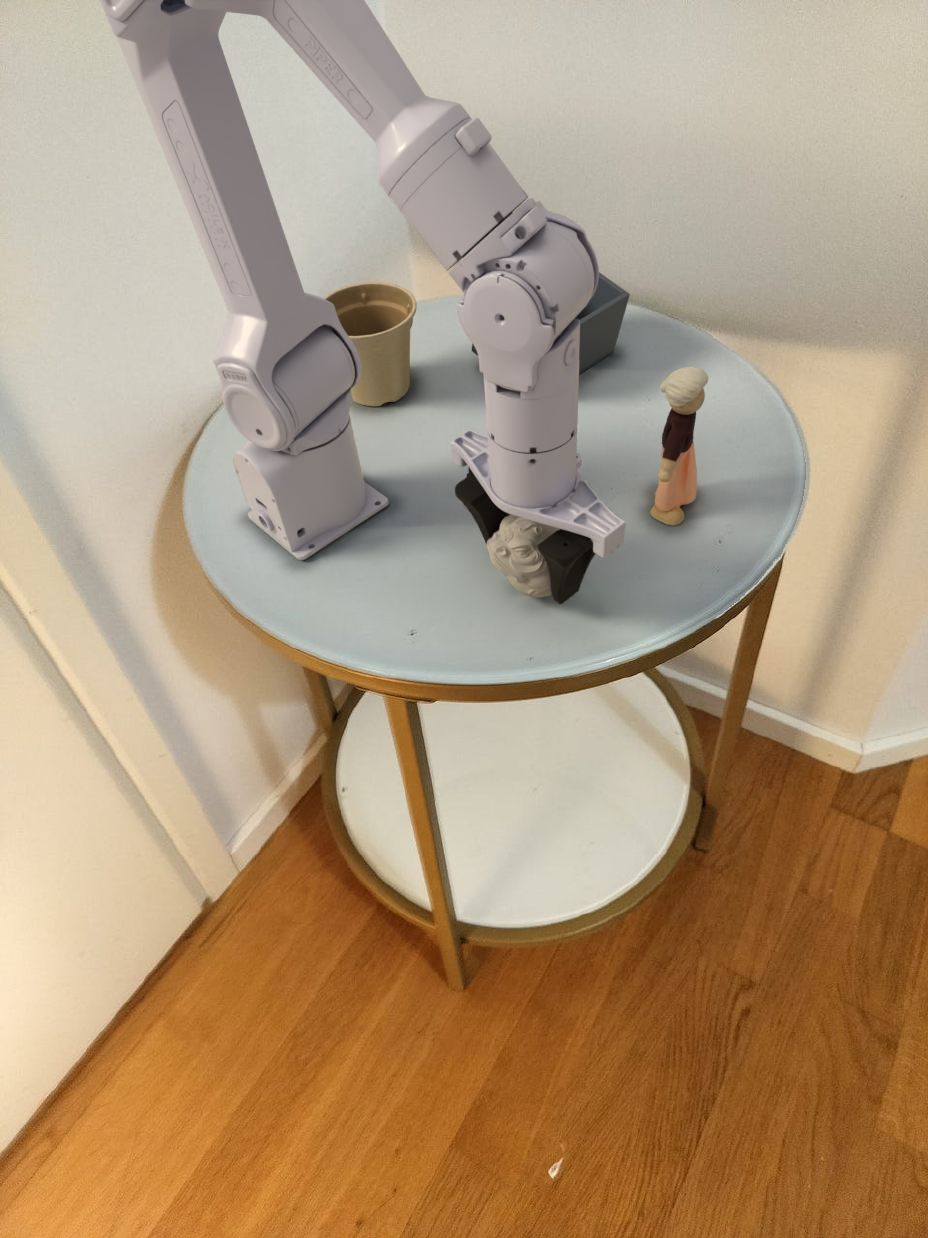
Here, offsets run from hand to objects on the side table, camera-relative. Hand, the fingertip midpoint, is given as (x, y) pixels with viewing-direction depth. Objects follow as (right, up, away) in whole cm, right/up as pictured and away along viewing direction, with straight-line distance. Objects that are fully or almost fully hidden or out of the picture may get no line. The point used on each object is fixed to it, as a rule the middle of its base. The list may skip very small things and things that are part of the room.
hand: (534, 573), depth 65 cm
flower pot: (-14, +19, +20) cm, 31 cm away
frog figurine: (0, -1, +1) cm, 2 cm away
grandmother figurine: (+12, +6, +6) cm, 15 cm away
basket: (+2, +24, +21) cm, 31 cm away
